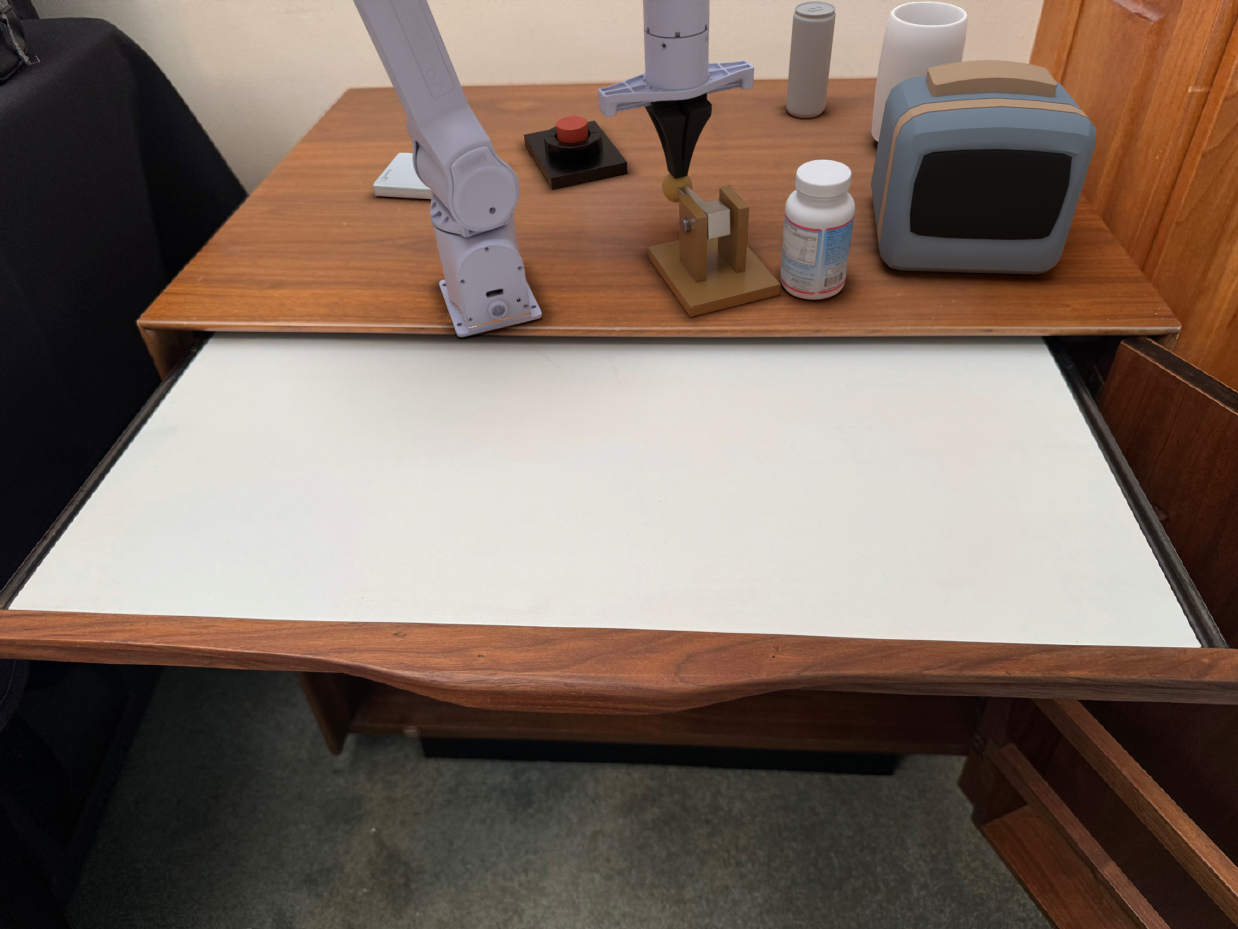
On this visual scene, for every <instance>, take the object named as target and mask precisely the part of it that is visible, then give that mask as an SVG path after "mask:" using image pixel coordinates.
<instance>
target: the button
mask: <svg viewBox="0 0 1238 929" xmlns="http://www.w3.org/2000/svg"><path fill="white" fill-rule="evenodd" d="M587 122H588V120H587V118H584V117H582V116H578V115H570V116H565V117H562V118H559V119H558V120H557V121H556V122H555V126H556V130H557V139H558V141H561V142H564V143H575V142H580V141H584V140H585V139H587V138H588V125H587Z"/></svg>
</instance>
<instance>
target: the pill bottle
mask: <svg viewBox="0 0 1238 929" xmlns="http://www.w3.org/2000/svg"><path fill="white" fill-rule="evenodd" d="M851 170H852V169H850V167H849V166H848V165H846V164H844V163H843V162H840V161H836V160H831V159H814V160H810V161H807V162H804V163H803V164H801V165H800V166H798V168H797V170H796V173H795V181H794V185H795V189H794V190H793V191H792V192H791V193H790V194H789V196H788V198H787V200H786V202H785V207H784V219H783V232H782V244H781V245H782V247H781V260H780V270H779V271H780V272H779V273H780V274H779V280H780V284H781V286H782V287H783V288H784V289H785V290H786V292H788V294H790V295H792V296H794V297H796V298H800V299H803V300H804V299H805V300H823V299H828V298H830V297H833V296H835V295H837V294H838V293H840V291H842V290H843V288H844V286H845V284H846V278H847V271H848V264H849V256H850V249H851V242H852V235H853V229H854V220H855V214H856V203H855V200H854V198H853V196H852V194H850V192H849V191H850V188H851V183H852V171H851Z"/></svg>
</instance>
